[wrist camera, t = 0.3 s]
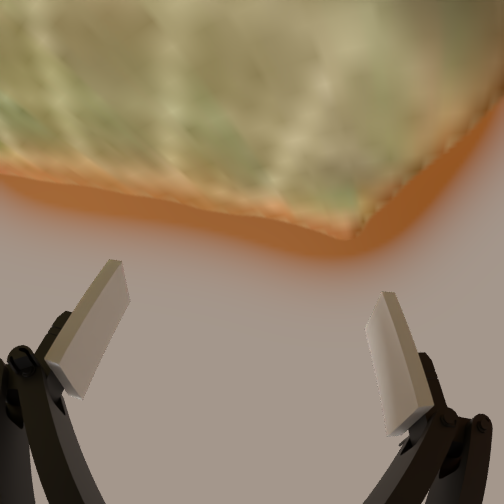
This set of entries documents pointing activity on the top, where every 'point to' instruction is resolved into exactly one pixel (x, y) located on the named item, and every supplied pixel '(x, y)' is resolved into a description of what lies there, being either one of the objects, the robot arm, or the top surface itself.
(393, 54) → the top surface
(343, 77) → the top surface
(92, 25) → the top surface
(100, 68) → the top surface
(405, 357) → the robot arm
